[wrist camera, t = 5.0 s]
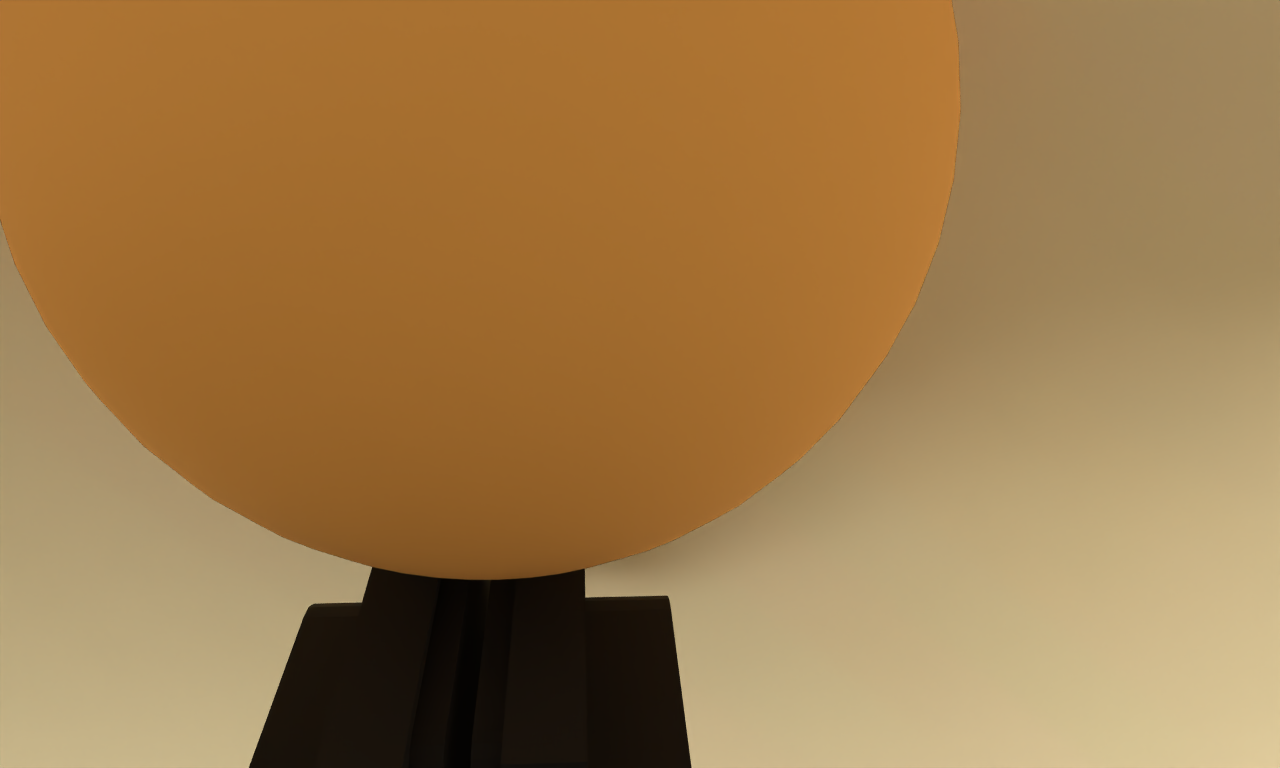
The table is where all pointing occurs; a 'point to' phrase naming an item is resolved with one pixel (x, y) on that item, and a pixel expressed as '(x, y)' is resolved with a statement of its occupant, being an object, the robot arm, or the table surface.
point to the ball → (477, 250)
